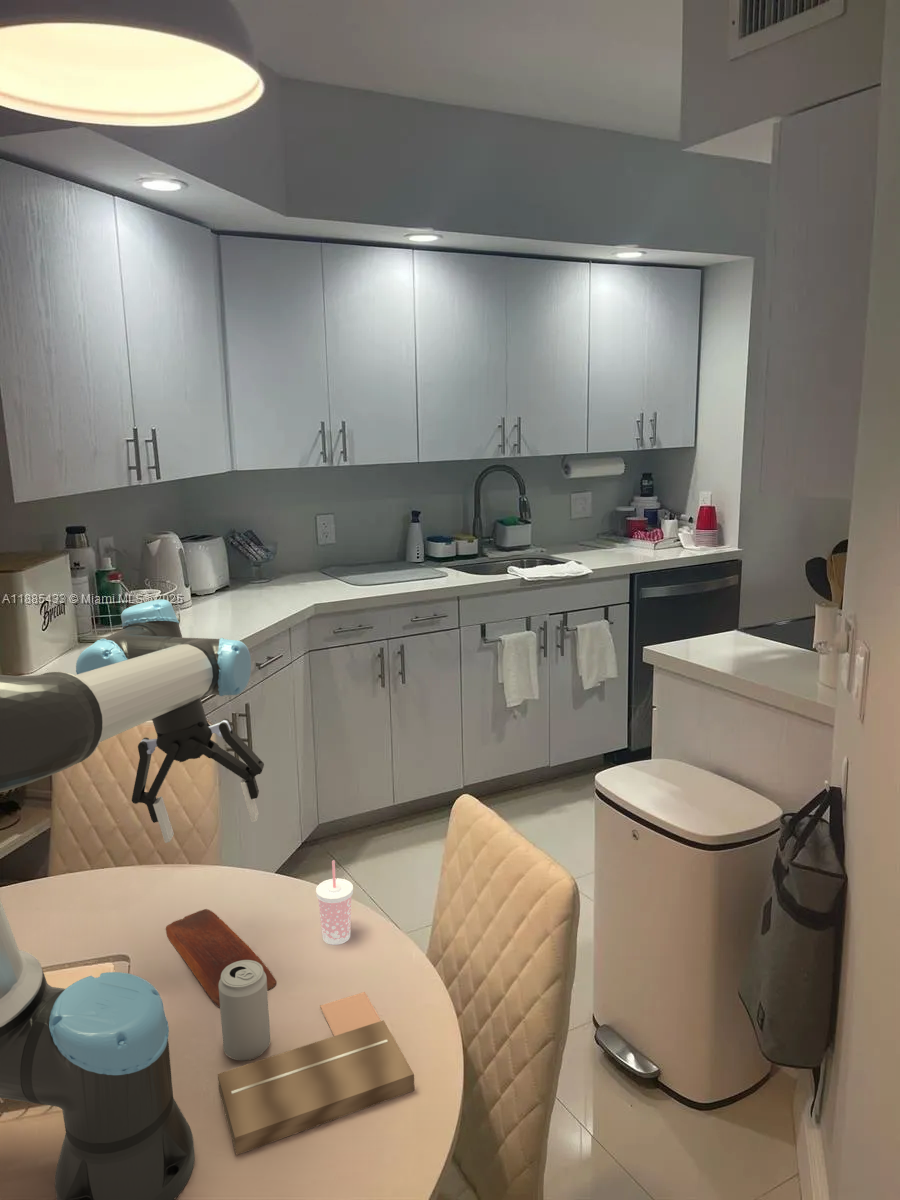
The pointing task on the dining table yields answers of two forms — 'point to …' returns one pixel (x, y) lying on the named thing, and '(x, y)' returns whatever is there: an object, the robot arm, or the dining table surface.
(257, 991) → the beverage can
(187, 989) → the dining table surface
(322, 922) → the beverage cup
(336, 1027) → the end tile
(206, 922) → the wooden tablet
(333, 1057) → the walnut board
